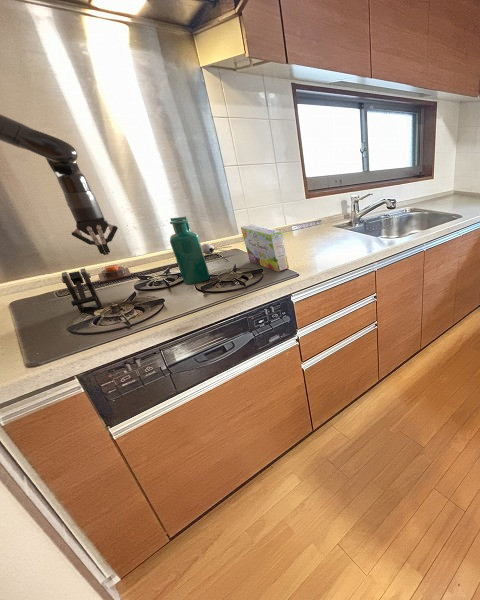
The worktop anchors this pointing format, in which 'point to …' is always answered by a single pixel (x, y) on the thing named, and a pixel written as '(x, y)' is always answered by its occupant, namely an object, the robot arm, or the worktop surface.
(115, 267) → the button
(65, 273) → the bracket
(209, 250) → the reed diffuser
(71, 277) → the lever
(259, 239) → the snack box
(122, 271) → the button box
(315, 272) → the worktop surface
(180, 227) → the green bottle
